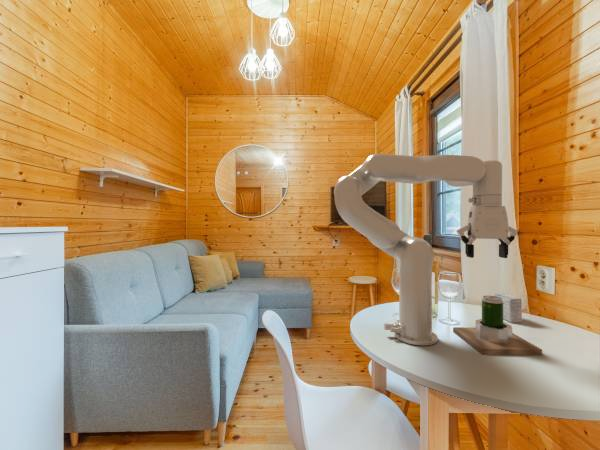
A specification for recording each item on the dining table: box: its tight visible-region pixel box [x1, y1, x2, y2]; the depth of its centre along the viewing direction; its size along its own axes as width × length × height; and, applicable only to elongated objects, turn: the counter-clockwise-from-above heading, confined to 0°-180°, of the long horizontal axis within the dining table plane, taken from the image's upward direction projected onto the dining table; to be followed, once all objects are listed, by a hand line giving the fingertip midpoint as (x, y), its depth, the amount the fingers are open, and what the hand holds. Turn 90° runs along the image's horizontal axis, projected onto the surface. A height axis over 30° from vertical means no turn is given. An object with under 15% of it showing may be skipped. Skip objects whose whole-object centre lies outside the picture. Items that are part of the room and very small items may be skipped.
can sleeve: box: [475, 318, 513, 344], centre depth 86 cm, size 9×9×4 cm
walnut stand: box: [452, 326, 543, 356], centre depth 86 cm, size 16×16×2 cm
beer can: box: [481, 295, 504, 328], centre depth 86 cm, size 5×5×12 cm
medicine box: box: [494, 293, 523, 324], centre depth 106 cm, size 8×4×9 cm, turn 3°
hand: (486, 257), depth 88 cm, fingers open, 9 cm apart
